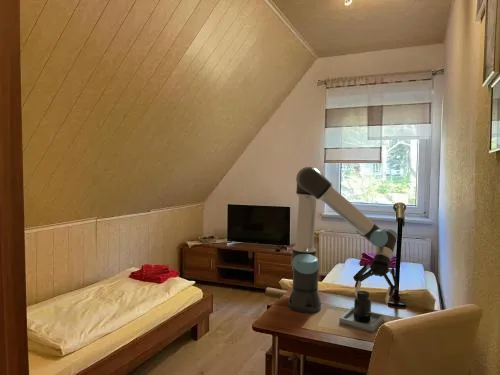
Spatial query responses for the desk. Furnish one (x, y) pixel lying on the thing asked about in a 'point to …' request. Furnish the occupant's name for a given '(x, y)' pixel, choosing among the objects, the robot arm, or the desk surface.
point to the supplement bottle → (362, 307)
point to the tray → (350, 321)
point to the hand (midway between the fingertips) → (370, 298)
